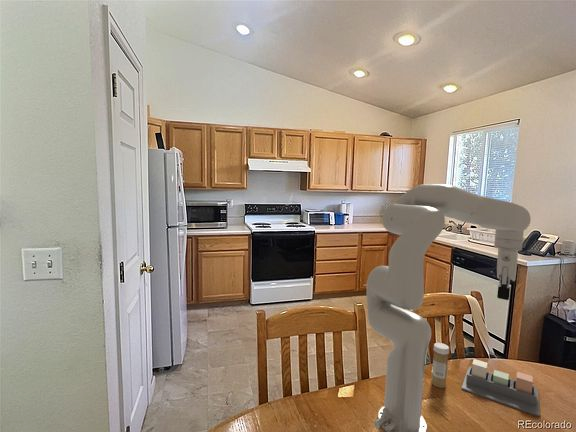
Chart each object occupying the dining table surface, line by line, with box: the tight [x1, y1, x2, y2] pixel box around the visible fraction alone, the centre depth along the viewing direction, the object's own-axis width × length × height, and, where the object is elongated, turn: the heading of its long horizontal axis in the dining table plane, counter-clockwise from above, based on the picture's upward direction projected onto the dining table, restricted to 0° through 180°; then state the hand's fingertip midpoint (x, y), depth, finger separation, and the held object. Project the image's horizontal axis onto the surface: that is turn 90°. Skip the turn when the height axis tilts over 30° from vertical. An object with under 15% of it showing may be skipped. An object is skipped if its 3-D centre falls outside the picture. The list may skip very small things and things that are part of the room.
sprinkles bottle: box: [431, 342, 450, 389], centre depth 106 cm, size 5×5×13 cm
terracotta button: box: [515, 371, 534, 394], centre depth 100 cm, size 4×4×4 cm
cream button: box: [471, 358, 488, 380], centre depth 107 cm, size 4×4×4 cm
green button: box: [493, 369, 510, 387], centre depth 103 cm, size 4×4×4 cm
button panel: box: [461, 365, 541, 418], centre depth 103 cm, size 14×20×4 cm
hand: (503, 298), depth 106 cm, fingers closed
